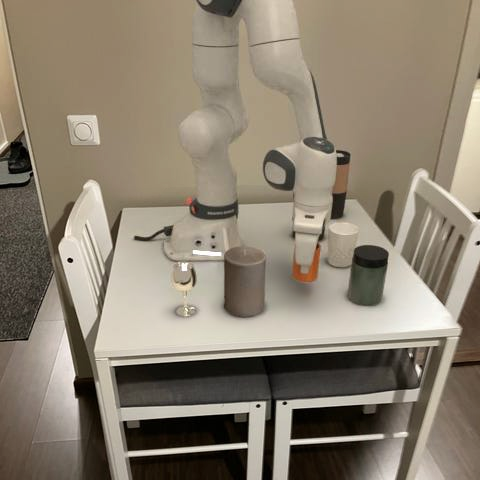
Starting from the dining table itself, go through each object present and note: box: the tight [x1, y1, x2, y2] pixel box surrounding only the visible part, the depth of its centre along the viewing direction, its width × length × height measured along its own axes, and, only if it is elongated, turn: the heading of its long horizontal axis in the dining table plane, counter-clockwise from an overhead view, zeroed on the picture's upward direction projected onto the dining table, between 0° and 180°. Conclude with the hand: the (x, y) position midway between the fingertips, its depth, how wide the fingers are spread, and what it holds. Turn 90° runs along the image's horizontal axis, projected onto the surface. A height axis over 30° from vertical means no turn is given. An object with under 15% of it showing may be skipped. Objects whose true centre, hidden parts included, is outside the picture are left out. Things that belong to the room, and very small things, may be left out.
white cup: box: [327, 222, 360, 268], centre depth 149 cm, size 8×8×10 cm
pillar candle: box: [223, 245, 267, 318], centre depth 128 cm, size 10×10×15 cm
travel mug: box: [330, 149, 352, 220], centre depth 174 cm, size 8×8×20 cm
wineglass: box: [170, 261, 198, 317], centre depth 127 cm, size 6×6×12 cm
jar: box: [347, 258, 389, 307], centre depth 133 cm, size 8×8×12 cm
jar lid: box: [353, 244, 390, 268], centre depth 130 cm, size 8×8×2 cm
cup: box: [291, 241, 322, 283], centre depth 134 cm, size 6×6×8 cm
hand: (306, 264), depth 135 cm, fingers closed on cup, 6 cm apart
